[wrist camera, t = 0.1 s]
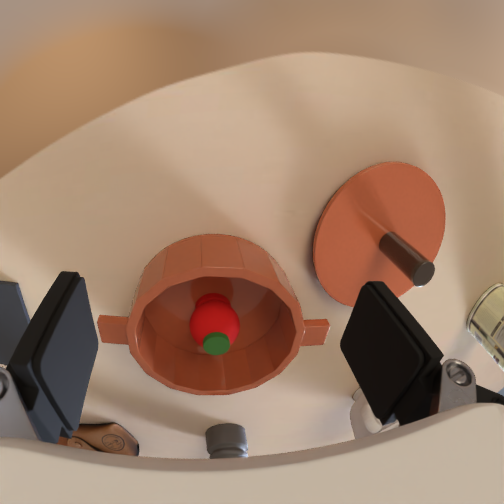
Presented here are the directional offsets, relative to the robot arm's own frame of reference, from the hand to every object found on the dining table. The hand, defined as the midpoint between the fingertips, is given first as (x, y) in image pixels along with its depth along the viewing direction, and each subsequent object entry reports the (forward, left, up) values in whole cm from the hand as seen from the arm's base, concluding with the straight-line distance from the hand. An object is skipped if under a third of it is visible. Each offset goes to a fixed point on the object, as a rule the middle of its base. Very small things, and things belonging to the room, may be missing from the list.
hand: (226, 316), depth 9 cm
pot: (+11, +1, -16) cm, 19 cm away
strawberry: (+11, +1, -15) cm, 19 cm away
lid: (+3, +17, -15) cm, 23 cm away
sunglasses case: (+41, -20, -16) cm, 48 cm away
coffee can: (+14, +46, -16) cm, 51 cm away
